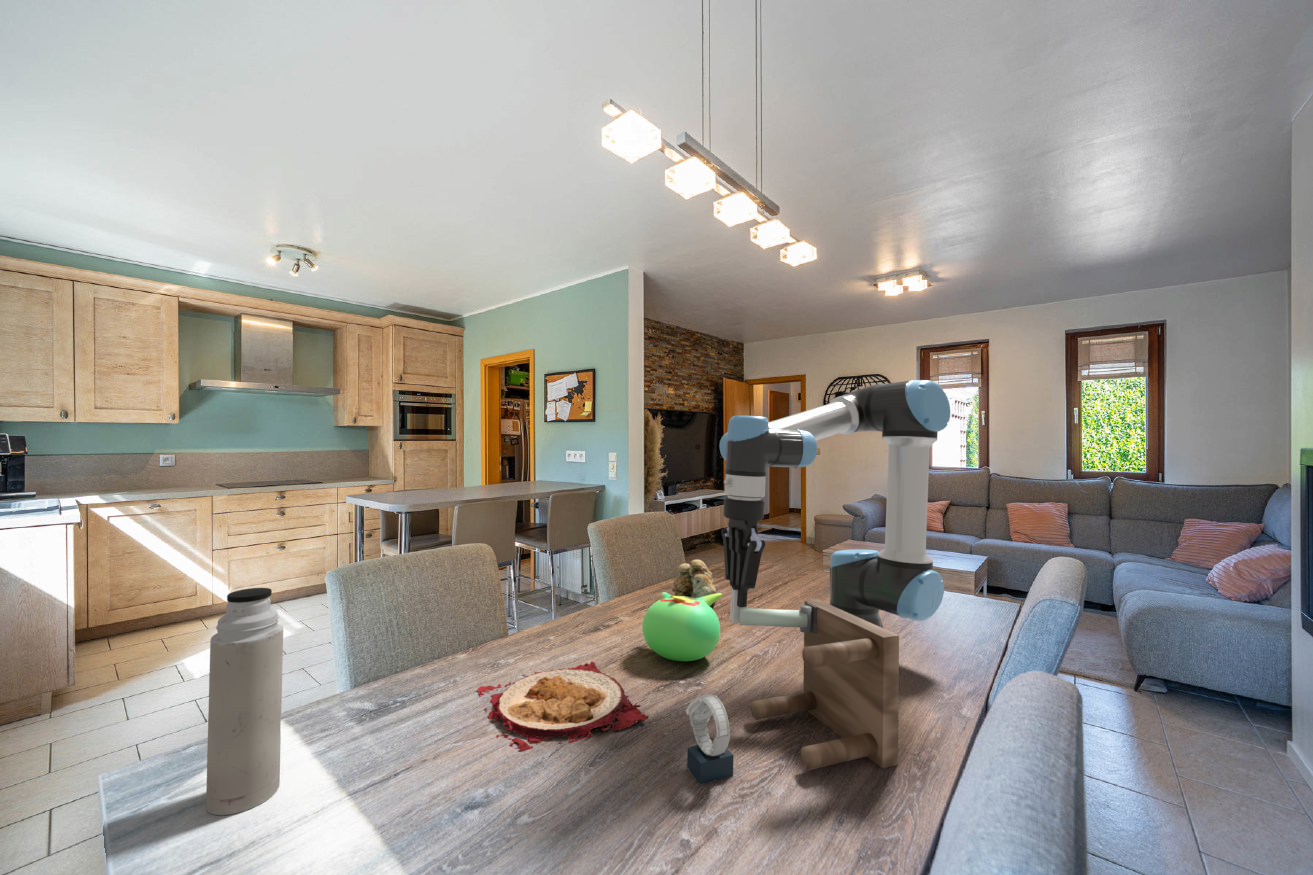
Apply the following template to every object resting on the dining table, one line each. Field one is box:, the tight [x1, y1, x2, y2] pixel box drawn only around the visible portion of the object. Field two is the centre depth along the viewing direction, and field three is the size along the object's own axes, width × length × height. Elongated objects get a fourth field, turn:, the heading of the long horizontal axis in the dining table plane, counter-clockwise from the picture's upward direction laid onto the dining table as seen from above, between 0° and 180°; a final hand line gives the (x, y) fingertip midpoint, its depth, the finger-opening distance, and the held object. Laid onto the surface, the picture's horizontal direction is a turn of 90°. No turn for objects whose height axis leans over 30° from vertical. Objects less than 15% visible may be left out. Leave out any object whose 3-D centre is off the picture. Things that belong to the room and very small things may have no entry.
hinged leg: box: [738, 605, 812, 634], centre depth 98 cm, size 13×3×4 cm, turn 86°
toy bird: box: [642, 591, 723, 662], centre depth 123 cm, size 18×17×15 cm
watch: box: [685, 694, 734, 786], centre depth 80 cm, size 6×8×11 cm
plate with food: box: [477, 661, 649, 753], centre depth 99 cm, size 25×26×4 cm
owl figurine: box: [671, 559, 721, 623], centre depth 148 cm, size 18×12×17 cm, turn 34°
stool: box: [749, 599, 900, 771], centre depth 89 cm, size 15×20×20 cm
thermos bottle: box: [205, 587, 284, 816], centre depth 73 cm, size 8×8×28 cm
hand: (737, 622), depth 100 cm, fingers closed
